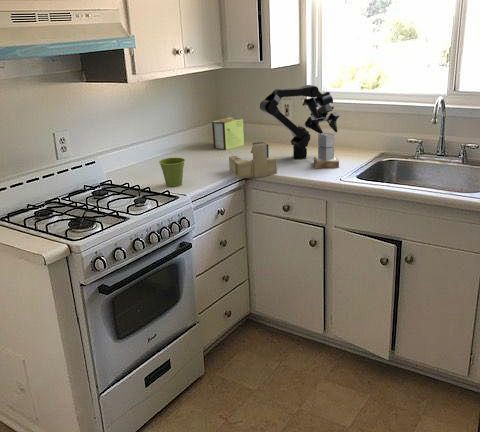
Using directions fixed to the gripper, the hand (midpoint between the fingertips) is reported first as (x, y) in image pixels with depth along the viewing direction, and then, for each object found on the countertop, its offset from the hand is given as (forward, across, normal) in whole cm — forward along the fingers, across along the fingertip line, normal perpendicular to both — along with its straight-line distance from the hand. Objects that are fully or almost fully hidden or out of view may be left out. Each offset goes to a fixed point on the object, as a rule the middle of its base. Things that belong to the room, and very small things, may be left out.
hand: (329, 133), depth 269 cm
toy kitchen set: (+5, -42, +14) cm, 45 cm away
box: (-2, -31, +22) cm, 38 cm away
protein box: (-35, -22, +54) cm, 68 cm away
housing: (+12, -8, +3) cm, 15 cm away
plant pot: (+1, -81, +19) cm, 83 cm away
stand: (+14, -8, +5) cm, 17 cm away
